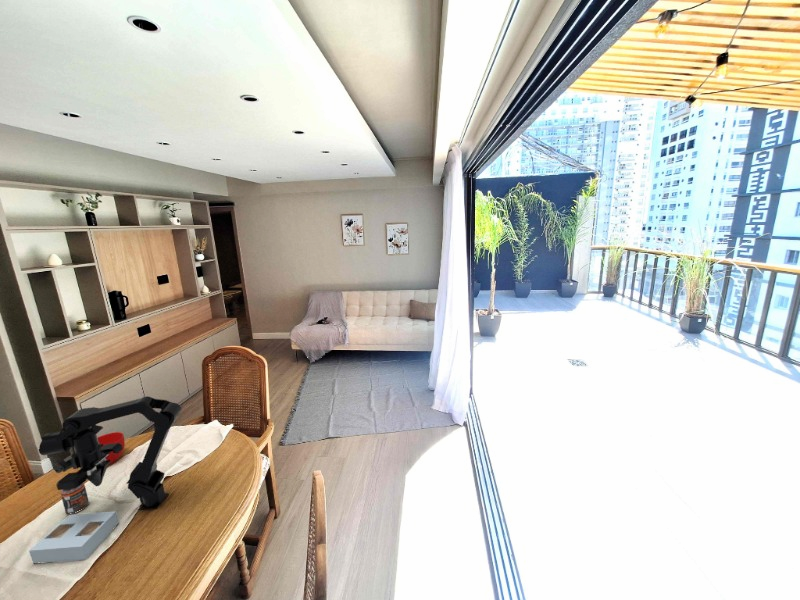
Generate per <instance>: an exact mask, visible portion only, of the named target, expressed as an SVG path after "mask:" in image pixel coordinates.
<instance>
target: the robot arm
mask: <svg viewBox="0 0 800 600" xmlns="http://www.w3.org/2000/svg"><path fill="white" fill-rule="evenodd" d="M155 409H158V410H159V411H157V410H155ZM182 410H183V409H182V406H180V404H178V403H177V402H172V401H169V400H167V399H162V398H161V399H158V398H154V397H151V396H148V395H147V396H143V397H141V398H137V399H134V400H129V401H124V402H121V403H117V404H112V405H109V406H105V407H95V406H93V407H86V408H84V407H83V408H80V409H78V410H77V411H75V412H74V413H72V414H71V415H70V416H69V417H67V418H66V419H64V420H63V422H62V429H60V431H56V432H47V433H45V434H44V435H42V436H41V439H42V440H41V442H40V443H39V447H38V448H39V449H38V453H39V454H40V455H41V456H48V455H52V454H59V453H64V452H68V451H69V450H71V449H72V448H73V449H74V453H72V454H71V455H69V456H67V457H66V458H64V459H63V460H60V461H57V462H56V463H55V464H53V466H52V467H53V470H54V472H55V473H56V474H60V473H62V472H63V473H65V472H67V471H68V470H70V469H73V470H76V469H77V471H76V472H68V473H67V474H65V475H64V476H63V477H62V478H60V480H58V481H57V482H56V489H57V490H58V491H62V490H64V489H72V488H77V487H79V486H80V485H81V484H83V483H84V484H85V482H86V481H87V480H88V481H89V482H90V483H92V484H93V486H95V487H99V486H101V485H102V483H103V480H104V476H105V475H106V471H107V469H108V467H109V465H108V464H109V463H110V462H111V460H106V459H105V457H106V456H108V455H109V454H110V452H112V451H113V453H114V454H118V453H119V452H120V451H121V450H122V449H123V447H122V444H120V443H112V444H105V445H104V446H103V443H100V444H99V442H98V438H97V437H98V435H97V434H99V432H100V431H102V429H104V427H103V426H101V425H98V424H100V423H104V422H107V421H110V420H111V421H112V420H115V419H119V418H122V417H126V416H130V415H135V414H141V415H142V416H144V418H145V419H147V420H148V421H150V422H152V423H153V429H154V432H153V434H152V437H151V440H150V441H149V445H148V447H147V449H146V452H145V455H144V457H143V459H142V462H141V461H139V462H138V463H137V464H136V466H135V467H134V469H133V470H132V471H131V472H130V474H129V479H128V480H127V482H126V483H125V484H127V489H128V490H129V491H131V492H132V493H133V495H134V496H135V497H136V498H137V499H139V501H140V504H141V505H140V507H138V510H139V511H143V510H144V511H145V510H157V509H158V508H159V507H160V506H161V505H162V504H163V503H164V501H165V500H166V499H167V498H168V497H169V495H170V493H169V492H165V487H164V484H163V483H162V480H164V478H165V475H166V474H165V472H163V471H160V470H158V459H159V456H160V454H161V452H162V449H163V447H164V444H165V442H166V439H167V438H168V437H167V436H168V435H169V434H168V433H169V432H170V429H171V427H172V426H173V425H174V424H175V422H176V420H177V419H178V417H179V416H180V415H181V412H182ZM101 447H102V448H101ZM78 469H79V470H78Z"/></svg>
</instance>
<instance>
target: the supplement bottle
mask: <svg viewBox="0 0 800 600" xmlns="http://www.w3.org/2000/svg"><path fill="white" fill-rule="evenodd" d="M60 497H61V500H62V504H63V509H64V512H65V514H66V515H71V514H70V513H74V514H76V513H75V512H77V511H79V510H81V509H82V510H83V508H84V507H85V508H86V507H87V506H88V505H89V504H88V503H89V502H90V501H89V497H88V492H87V489H86V486H85V482H84V483H83V484H81V485H80V486H79V487H77V488H72V489H64V490H60ZM85 508H84V509H85ZM82 510H81V511H82ZM79 512H80V511H79ZM77 513H78V512H77Z"/></svg>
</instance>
